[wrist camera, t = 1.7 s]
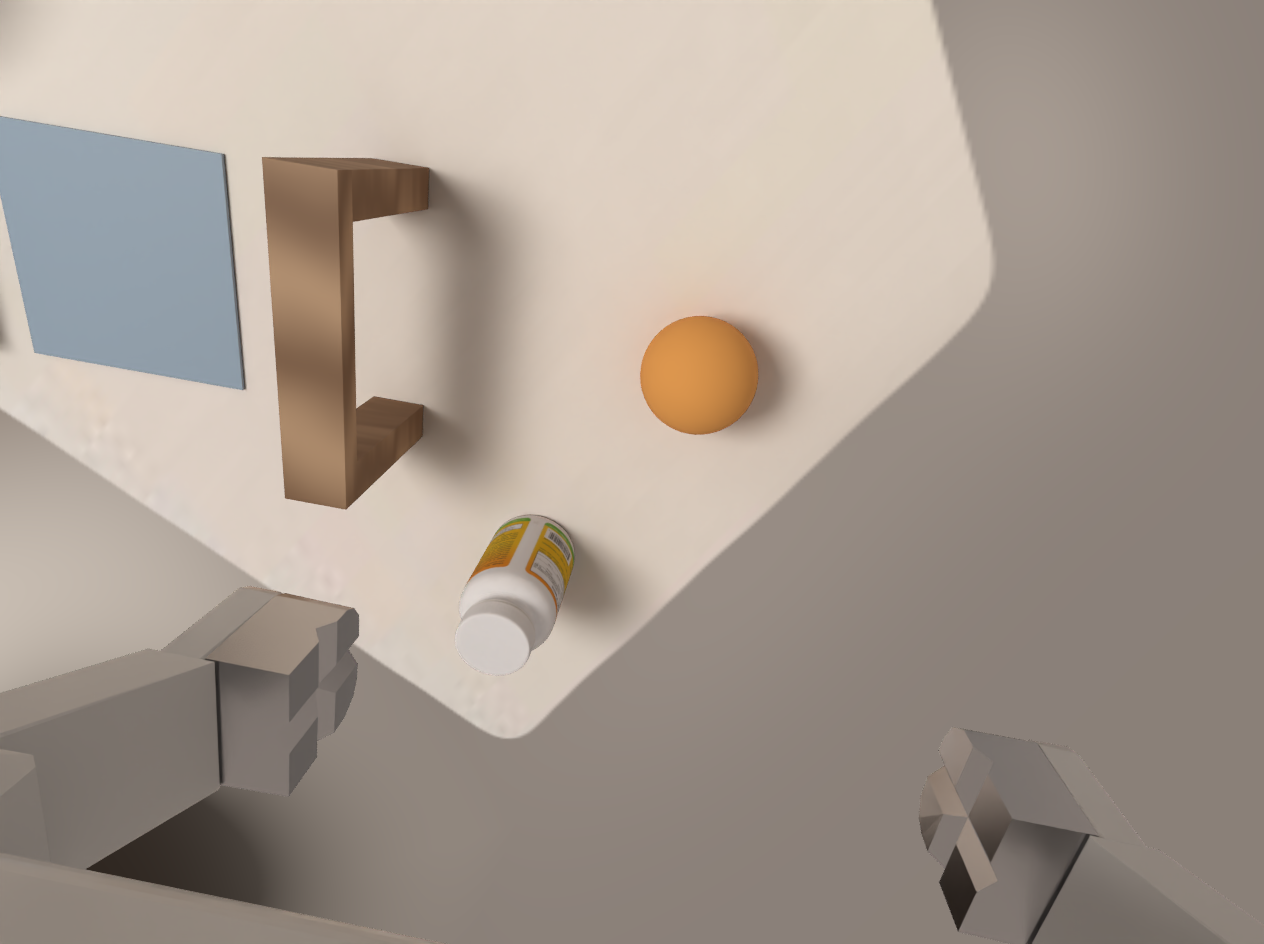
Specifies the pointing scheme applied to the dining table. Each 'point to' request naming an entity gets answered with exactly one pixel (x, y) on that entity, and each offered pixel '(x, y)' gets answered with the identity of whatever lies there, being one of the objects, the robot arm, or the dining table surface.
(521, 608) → the supplement bottle
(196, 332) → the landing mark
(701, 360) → the ball
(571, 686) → the dining table surface
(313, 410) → the bridge
